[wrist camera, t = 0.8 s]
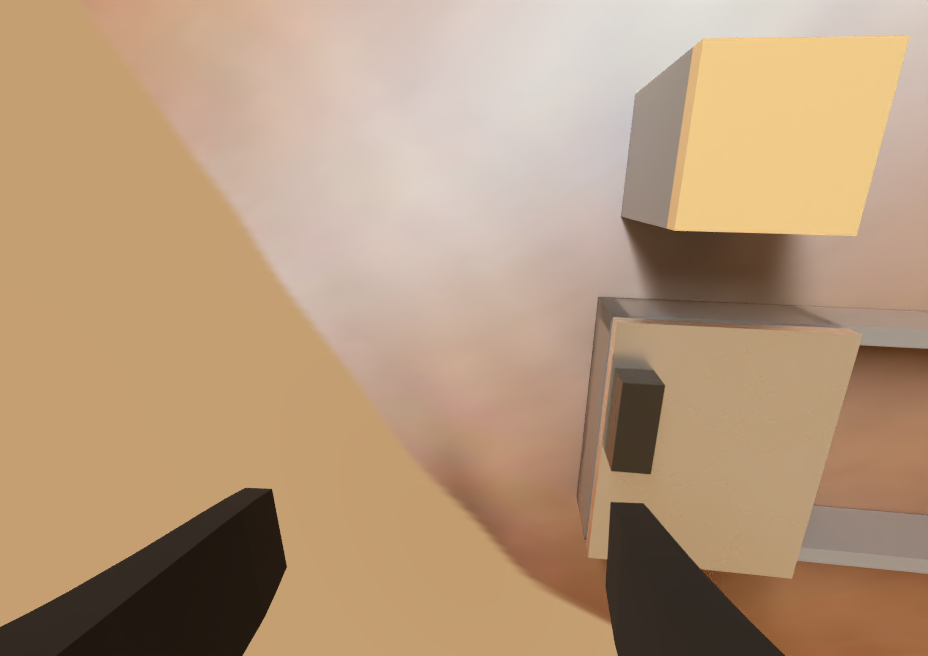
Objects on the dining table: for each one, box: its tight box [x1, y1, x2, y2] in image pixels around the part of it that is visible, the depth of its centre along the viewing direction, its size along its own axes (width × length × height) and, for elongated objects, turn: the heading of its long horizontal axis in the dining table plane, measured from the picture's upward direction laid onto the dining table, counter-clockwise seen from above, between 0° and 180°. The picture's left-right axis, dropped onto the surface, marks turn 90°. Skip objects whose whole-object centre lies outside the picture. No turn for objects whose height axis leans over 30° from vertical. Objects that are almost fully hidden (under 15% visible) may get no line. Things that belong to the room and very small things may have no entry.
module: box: [621, 36, 910, 236], centre depth 13 cm, size 4×4×6 cm
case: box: [577, 297, 928, 574], centre depth 17 cm, size 16×9×3 cm, turn 89°
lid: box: [586, 317, 863, 579], centre depth 15 cm, size 7×9×2 cm
